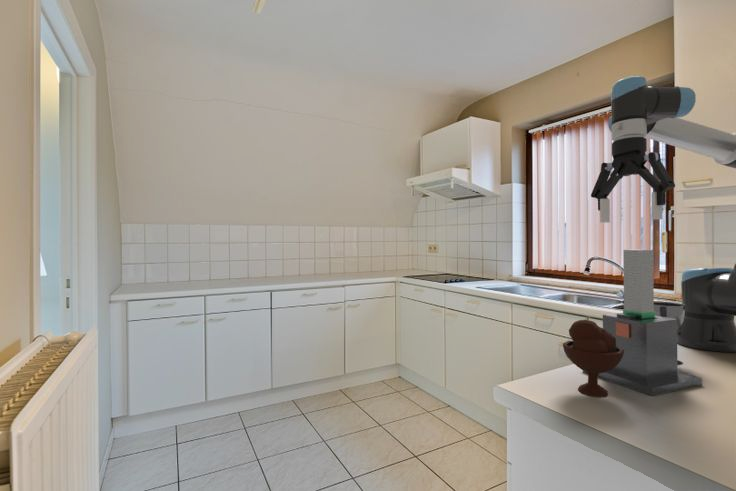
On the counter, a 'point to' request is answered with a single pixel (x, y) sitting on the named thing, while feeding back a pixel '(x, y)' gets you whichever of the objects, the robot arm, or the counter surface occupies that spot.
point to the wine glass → (671, 313)
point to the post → (639, 284)
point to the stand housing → (647, 354)
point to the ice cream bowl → (592, 353)
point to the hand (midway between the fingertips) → (629, 221)
